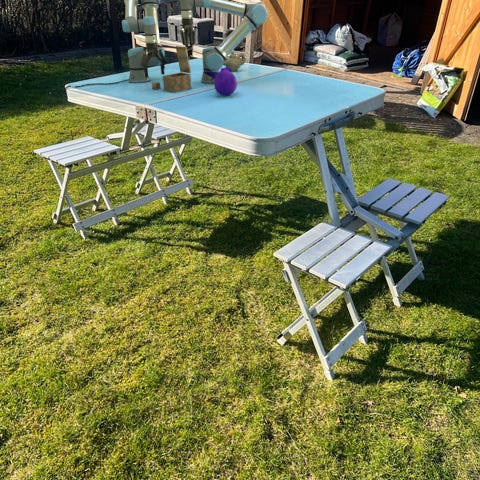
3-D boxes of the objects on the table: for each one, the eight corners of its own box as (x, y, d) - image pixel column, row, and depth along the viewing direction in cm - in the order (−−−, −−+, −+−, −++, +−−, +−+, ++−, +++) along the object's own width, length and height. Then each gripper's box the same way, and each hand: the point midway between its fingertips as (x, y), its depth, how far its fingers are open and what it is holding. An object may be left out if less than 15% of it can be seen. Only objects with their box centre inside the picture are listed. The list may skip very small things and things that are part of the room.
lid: (185, 47, 297) (194, 44, 302) (175, 46, 303) (184, 43, 308) (189, 73, 307) (198, 69, 312) (180, 71, 313) (188, 68, 318)
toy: (224, 88, 311) (237, 101, 290) (200, 83, 303) (211, 96, 283) (230, 64, 302) (243, 76, 282) (205, 59, 295) (217, 71, 274)
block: (155, 89, 312) (155, 83, 310) (152, 88, 315) (151, 82, 313) (160, 88, 315) (160, 82, 313) (157, 87, 317) (156, 81, 315)
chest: (173, 92, 303) (172, 77, 298) (164, 90, 309) (162, 75, 304) (191, 88, 313) (190, 74, 308) (182, 86, 319) (180, 72, 314)
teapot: (225, 73, 359) (225, 53, 352) (218, 71, 368) (218, 51, 360) (248, 70, 368) (248, 50, 361) (241, 68, 377) (241, 49, 369)
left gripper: (139, 44, 289) (143, 78, 300) (169, 41, 305) (172, 73, 315) (132, 43, 294) (136, 77, 305) (162, 40, 309) (166, 72, 320)
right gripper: (182, 18, 290) (185, 57, 302) (199, 17, 299) (201, 55, 311) (174, 18, 294) (178, 56, 306) (191, 16, 303) (194, 54, 315)
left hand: (155, 75), depth 310 cm, fingers open, 13 cm apart
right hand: (189, 55), depth 308 cm, fingers closed on lid, 2 cm apart
